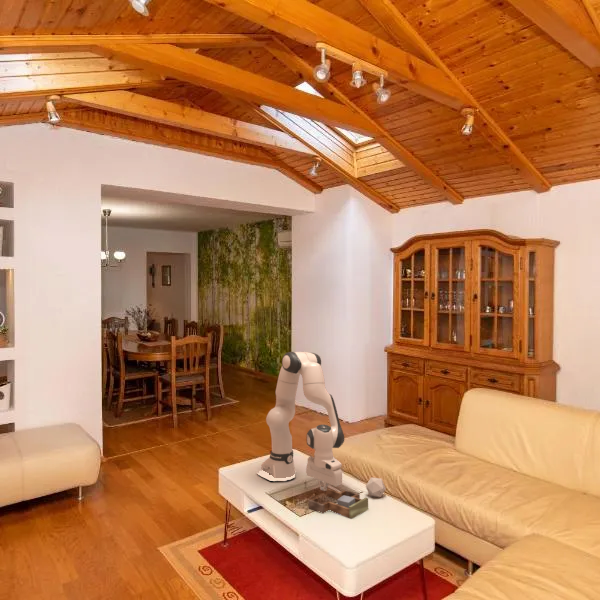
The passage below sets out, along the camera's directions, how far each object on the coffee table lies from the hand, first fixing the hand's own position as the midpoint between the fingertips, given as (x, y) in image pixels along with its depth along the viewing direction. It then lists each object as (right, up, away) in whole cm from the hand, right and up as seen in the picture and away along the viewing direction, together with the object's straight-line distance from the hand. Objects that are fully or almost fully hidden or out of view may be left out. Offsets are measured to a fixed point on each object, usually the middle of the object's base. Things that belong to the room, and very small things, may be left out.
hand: (323, 490), depth 225 cm
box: (+7, -6, -5) cm, 10 cm away
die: (+26, -6, +7) cm, 27 cm away
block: (+10, -6, -7) cm, 14 cm away
